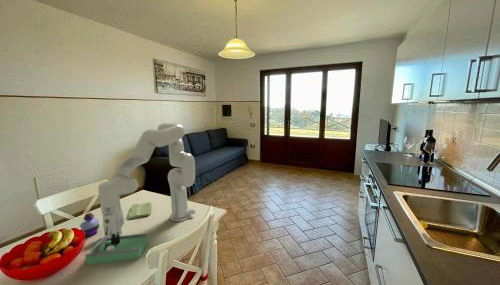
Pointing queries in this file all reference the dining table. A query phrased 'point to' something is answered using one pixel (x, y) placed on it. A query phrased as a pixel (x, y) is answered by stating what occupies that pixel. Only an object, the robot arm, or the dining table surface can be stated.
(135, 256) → the green
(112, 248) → the ball
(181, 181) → the robot arm
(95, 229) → the purple rounded piece
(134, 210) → the washcloth
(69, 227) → the dining table surface
